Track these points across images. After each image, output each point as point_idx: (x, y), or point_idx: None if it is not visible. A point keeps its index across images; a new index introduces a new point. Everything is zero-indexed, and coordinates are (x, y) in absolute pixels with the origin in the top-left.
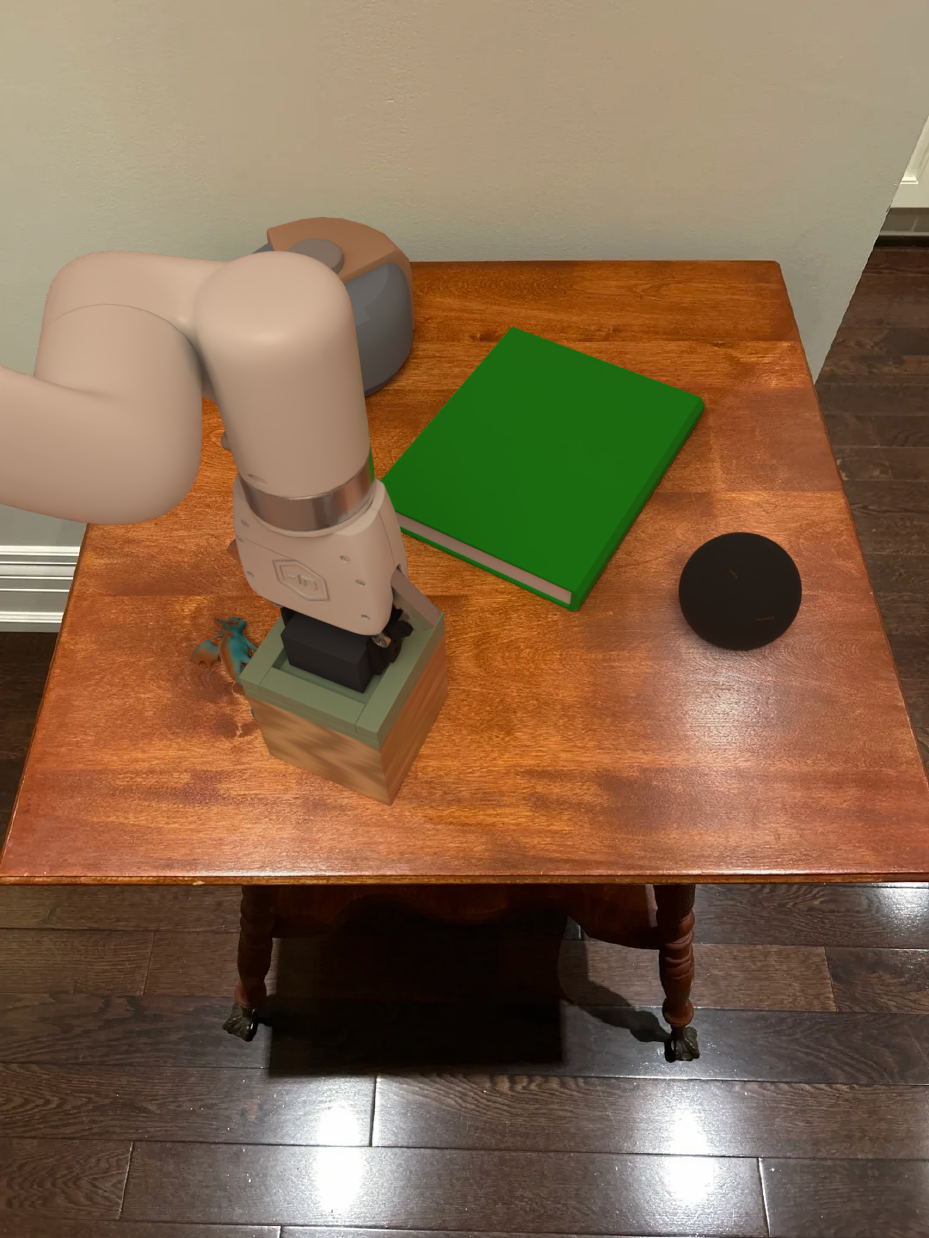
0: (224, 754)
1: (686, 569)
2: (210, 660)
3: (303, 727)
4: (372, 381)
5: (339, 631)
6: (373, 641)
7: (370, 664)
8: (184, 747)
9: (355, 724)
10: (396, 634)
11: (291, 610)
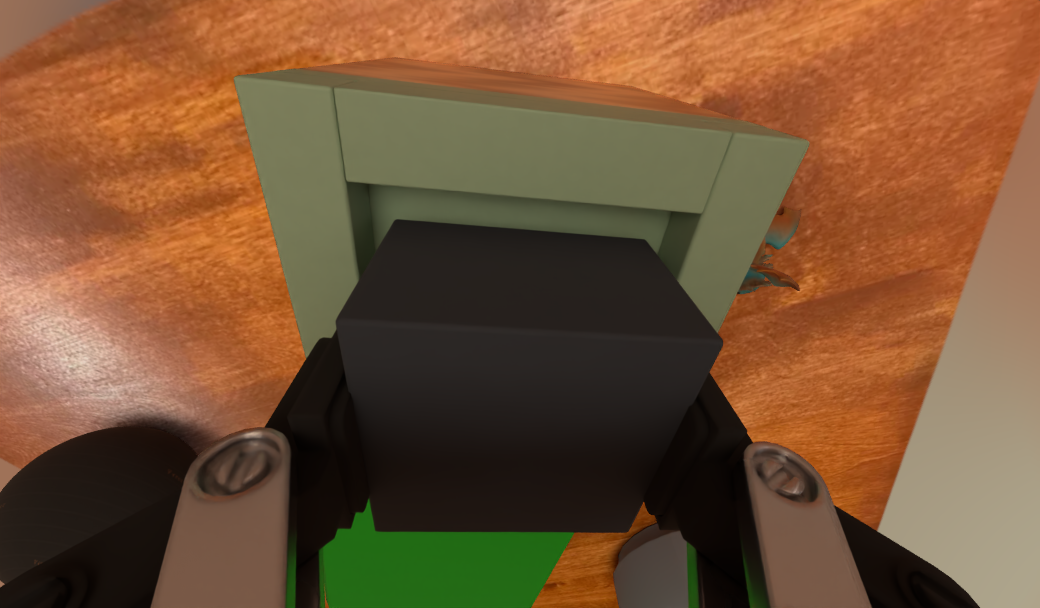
0: (714, 59)
1: None
2: None
3: (561, 93)
4: (641, 556)
5: (488, 414)
6: (289, 445)
7: None
8: (790, 48)
9: (332, 89)
10: (137, 538)
11: (700, 442)
